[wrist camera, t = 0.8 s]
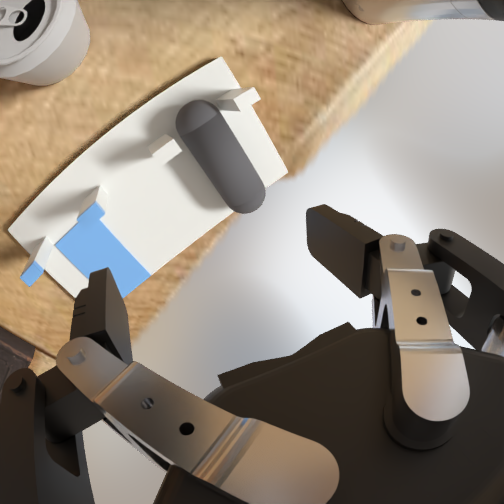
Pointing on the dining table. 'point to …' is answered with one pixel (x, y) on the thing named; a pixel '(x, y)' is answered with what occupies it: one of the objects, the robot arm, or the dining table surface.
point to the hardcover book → (13, 355)
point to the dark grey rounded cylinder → (220, 155)
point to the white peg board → (140, 190)
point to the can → (41, 40)
